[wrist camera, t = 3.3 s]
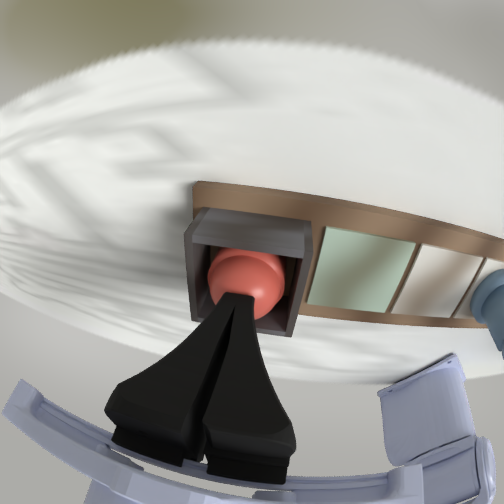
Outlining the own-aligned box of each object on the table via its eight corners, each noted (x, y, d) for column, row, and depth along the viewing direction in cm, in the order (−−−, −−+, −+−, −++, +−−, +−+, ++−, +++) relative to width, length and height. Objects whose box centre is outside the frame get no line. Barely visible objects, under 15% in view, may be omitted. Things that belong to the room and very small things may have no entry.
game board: (528, 247, 13) (553, 277, 10) (487, 320, 17) (502, 353, 14) (198, 180, 15) (170, 210, 12) (201, 289, 19) (183, 330, 16)
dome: (291, 237, 14) (288, 284, 11) (281, 294, 17) (275, 343, 13) (216, 227, 15) (194, 269, 12) (216, 284, 17) (199, 330, 14)
